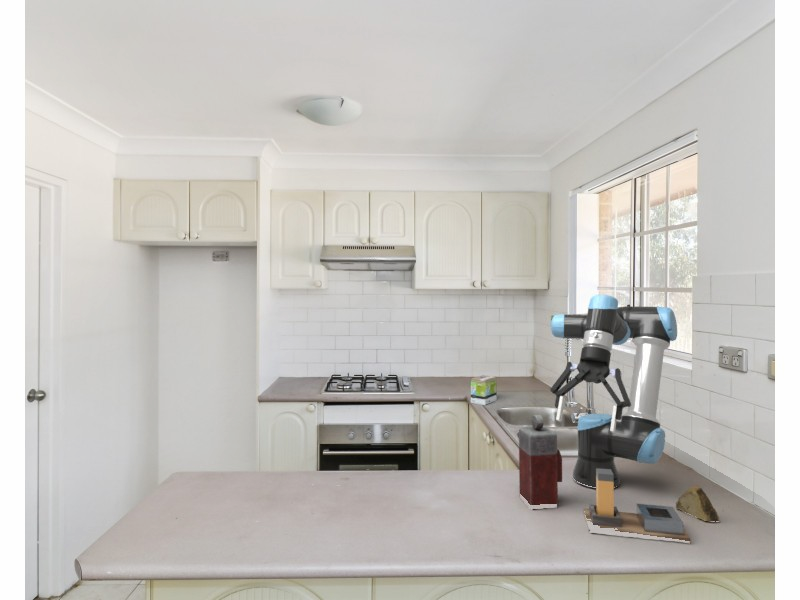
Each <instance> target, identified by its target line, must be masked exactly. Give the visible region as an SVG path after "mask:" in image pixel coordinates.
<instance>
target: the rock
mask: <svg viewBox="0 0 800 600" xmlns="http://www.w3.org/2000/svg"><path fill="white" fill-rule="evenodd" d="M676 501H677V502H675V509H676V508H677V509H676V510H678V509H680V510H682V511H684V512H686V513H689V514H691V515H693V516H696V517H697V518H700V519H702V520H704V521H715V522H716V521H720V522H721V520H720V517H719V515H718V512H717V510H716V508H714V506H713V504H712V502H711V500H710V499H709V496H708V495H707V494H706V493H705V491H704V490H703V488H702V487H700V486H698V485H692V486H690V488H689V489H688V490H687V491H685V492H684V493H683V494H682V495H681V496H679V498H678V500H676ZM680 510H679V511H680ZM682 511H681V512H682ZM684 512H683V513H684ZM686 513H685V514H686ZM689 514H688V515H689ZM691 515H690V516H691ZM697 518H696V519H697ZM702 520H701V521H702ZM704 521H703V522H704Z"/></svg>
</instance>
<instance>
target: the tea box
mask: <svg viewBox="0 0 800 600" xmlns="http://www.w3.org/2000/svg"><path fill="white" fill-rule="evenodd" d="M497 380H498V379H497V376H493V375H492V376H491V375H484V374H482V375H478V376H475V377H473V378H471V379H470V403H471V404H475V405H480V406H486V405H488V404H490V403H494V402H496V401H497V400H498V399H497V398H498V397H497V396H498V395H497V393H498V392H497V391H498V389H497V385H498V384H497V383H498V381H497Z"/></svg>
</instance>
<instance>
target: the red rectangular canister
mask: <svg viewBox="0 0 800 600" xmlns="http://www.w3.org/2000/svg"><path fill="white" fill-rule="evenodd" d="M518 458H519V459H518V460H519V462H518V464H519V467H518V468H519V470H518V471H519V472H518V473H519V475H518V476H519V482H518V483H519V495H520V494H521V495H522V496H523V497H524V498H525V499H526V500H527V501H528V503H529V504H530V505H540V504H557V503H559V502H558V501H559V500H558V497H559V495H558V494H559V493H558V487H559V486H558V483H563V457H562V454H561V451H560V450H559V449H558V434H557V433H556V432H554V431H553V430H551V429H550V428H549V427H547V426H546V425H544V419H543V416H542V415H541V414H533V415H532V416H531V426H529V425H528V426H521V427H519V428H518Z"/></svg>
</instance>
